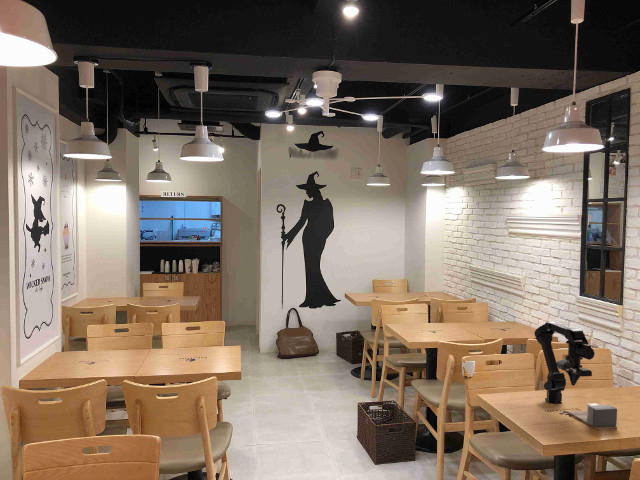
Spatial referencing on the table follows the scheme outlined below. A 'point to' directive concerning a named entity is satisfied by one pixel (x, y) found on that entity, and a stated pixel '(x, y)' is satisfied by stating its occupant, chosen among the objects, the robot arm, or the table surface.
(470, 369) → the white cup
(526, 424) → the table surface
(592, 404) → the plug
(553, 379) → the robot arm
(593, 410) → the socket housing
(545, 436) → the table surface
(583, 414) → the board
